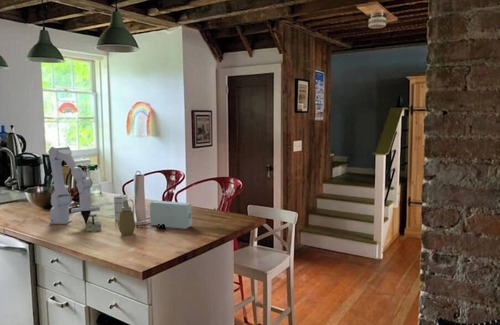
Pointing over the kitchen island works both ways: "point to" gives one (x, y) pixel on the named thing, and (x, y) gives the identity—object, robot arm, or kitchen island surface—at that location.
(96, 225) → the fixed tong arm
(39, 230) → the kitchen island surface
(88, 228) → the bar
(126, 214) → the squeeze bottle
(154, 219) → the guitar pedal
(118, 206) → the syrup box
